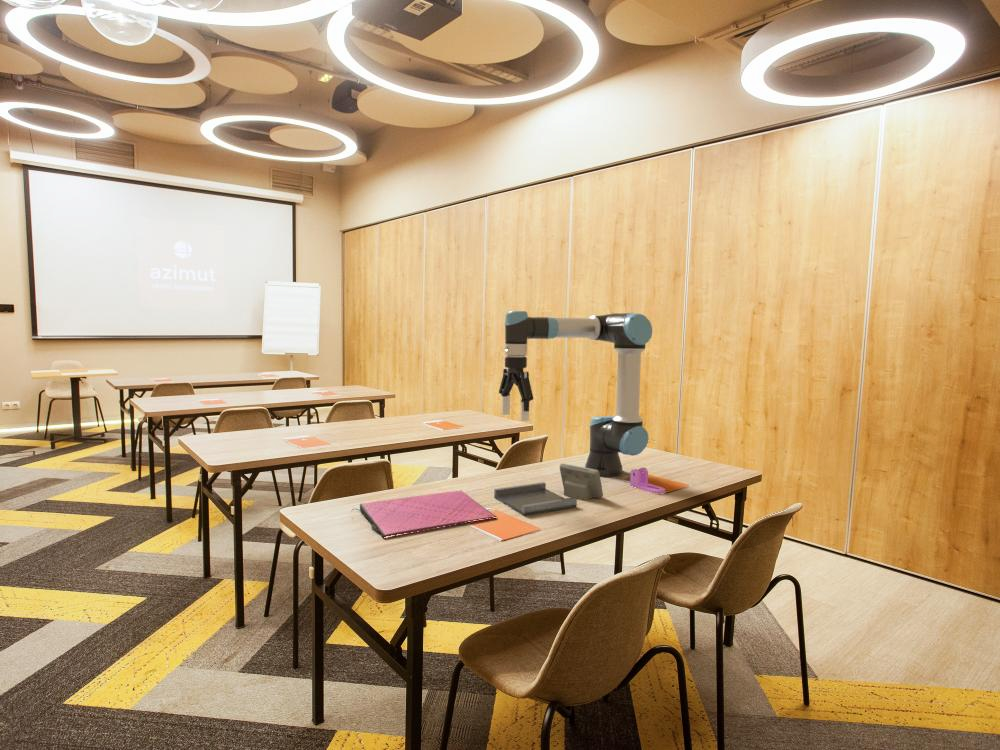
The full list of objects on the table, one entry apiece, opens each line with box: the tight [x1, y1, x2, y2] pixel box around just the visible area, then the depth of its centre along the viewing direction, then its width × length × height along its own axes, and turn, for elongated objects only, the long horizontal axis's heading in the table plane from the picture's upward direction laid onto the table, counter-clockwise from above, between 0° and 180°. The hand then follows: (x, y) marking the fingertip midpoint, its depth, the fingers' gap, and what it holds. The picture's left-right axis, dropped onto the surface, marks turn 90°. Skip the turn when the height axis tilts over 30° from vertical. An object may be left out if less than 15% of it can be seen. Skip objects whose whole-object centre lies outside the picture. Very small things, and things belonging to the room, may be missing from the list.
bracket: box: [629, 466, 666, 494], centre depth 208 cm, size 13×6×7 cm, turn 36°
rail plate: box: [493, 481, 578, 517], centre depth 192 cm, size 20×21×3 cm
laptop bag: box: [351, 490, 497, 538], centre depth 177 cm, size 40×4×27 cm
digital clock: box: [559, 463, 604, 501], centre depth 200 cm, size 16×9×11 cm, turn 39°
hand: (515, 417), depth 195 cm, fingers open, 13 cm apart
